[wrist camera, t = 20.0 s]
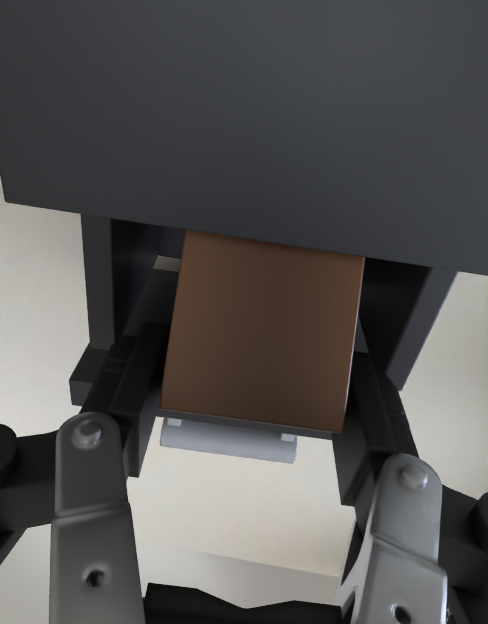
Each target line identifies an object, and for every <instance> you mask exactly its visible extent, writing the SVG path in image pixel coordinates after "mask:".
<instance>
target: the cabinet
mask: <svg viewBox="0 0 488 624" xmlns="http://www.w3.org/2000/svg"><path fill="white" fill-rule="evenodd" d="M0 176H1V182H2V188H3V193H4V199H5V202H7V203H13V204H20V205H27V206H33V207H40V208H46V209H53V210H59V211H66V212H73V213H79V214H86V215H92V216H99V217H105V218H112V219H119V220H125V221H132V222H138V223H145V224H151V225H158V226H164V227H171V228H178V229H184V230H191V231H197V232H204V233H210V234H217V235H224V236H230V237H237V238H243V239H250V240H256V241H263V242H270V243H276V244H283V245H289V246H296V247H302V248H309V249H316V250H322V251H329V252H335V253H342V254H348V255H355V256H362V257H368V258H375V259H381V260H388V261H394V262H401V263H408V264H414V265H421V266H427V267H434V268H440V269H447V270H453V271H460V272H467V273H473V274H480V275H486V276H488V0H0Z"/></svg>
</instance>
